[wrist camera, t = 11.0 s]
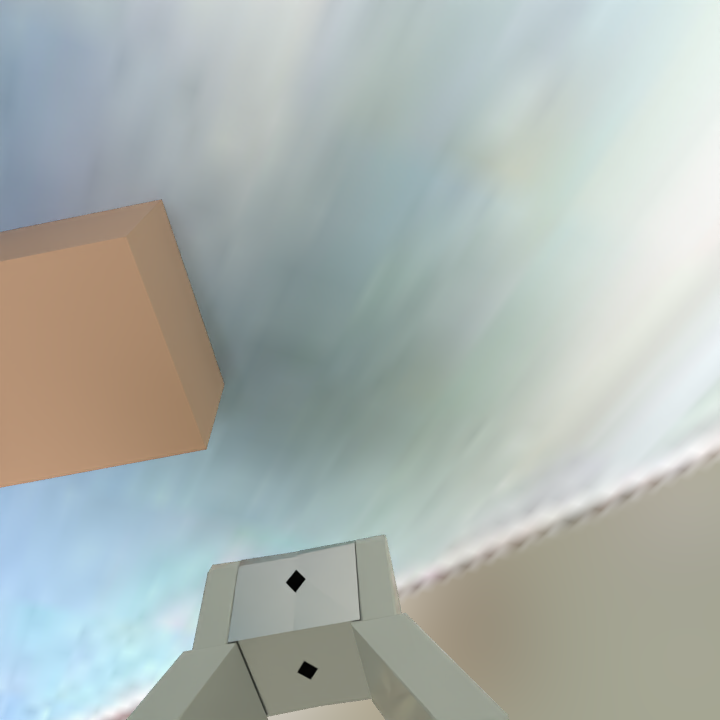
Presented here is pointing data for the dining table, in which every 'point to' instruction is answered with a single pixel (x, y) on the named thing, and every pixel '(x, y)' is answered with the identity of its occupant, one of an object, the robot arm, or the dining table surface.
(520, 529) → the dining table surface
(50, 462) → the block
